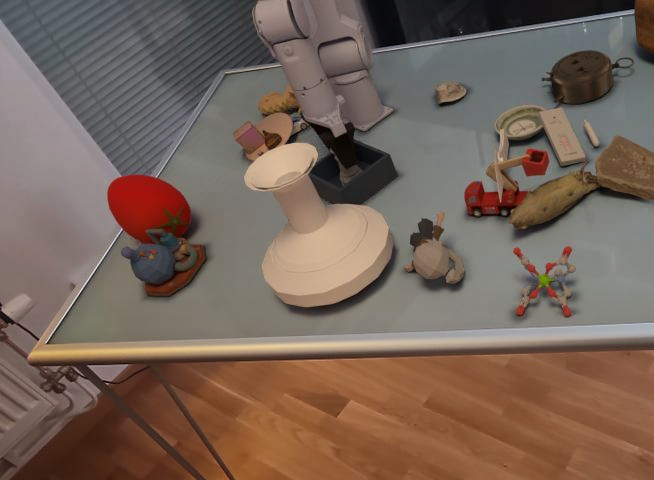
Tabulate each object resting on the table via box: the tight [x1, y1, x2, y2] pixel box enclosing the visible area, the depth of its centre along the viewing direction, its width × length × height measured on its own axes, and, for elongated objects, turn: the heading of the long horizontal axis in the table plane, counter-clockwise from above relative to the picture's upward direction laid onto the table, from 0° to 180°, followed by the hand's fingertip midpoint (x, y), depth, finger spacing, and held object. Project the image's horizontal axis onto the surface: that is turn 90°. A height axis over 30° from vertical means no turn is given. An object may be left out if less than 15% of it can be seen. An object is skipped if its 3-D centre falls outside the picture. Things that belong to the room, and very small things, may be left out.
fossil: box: [434, 81, 467, 105], centre depth 121 cm, size 8×4×6 cm
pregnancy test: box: [539, 106, 600, 167], centre depth 101 cm, size 8×12×1 cm, turn 14°
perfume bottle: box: [232, 112, 293, 162], centre depth 122 cm, size 12×12×4 cm
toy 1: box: [257, 79, 329, 116], centre depth 132 cm, size 5×12×20 cm
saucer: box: [493, 104, 547, 141], centre depth 107 cm, size 10×10×2 cm
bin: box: [308, 138, 399, 205], centre depth 107 cm, size 11×11×4 cm
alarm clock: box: [540, 49, 635, 105], centre depth 111 cm, size 11×5×16 cm
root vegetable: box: [507, 159, 602, 230], centre depth 91 cm, size 5×20×5 cm
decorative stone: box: [594, 135, 654, 202], centre depth 90 cm, size 10×6×15 cm
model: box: [120, 229, 207, 297], centre depth 101 cm, size 12×9×9 cm
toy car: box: [290, 115, 309, 137], centre depth 125 cm, size 4×12×3 cm, turn 125°
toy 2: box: [404, 210, 465, 285], centre depth 89 cm, size 10×8×15 cm
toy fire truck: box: [463, 147, 550, 218], centre depth 91 cm, size 3×14×10 cm, turn 75°
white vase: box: [243, 142, 395, 308], centre depth 88 cm, size 20×20×19 cm
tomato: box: [106, 174, 192, 246], centre depth 107 cm, size 13×11×14 cm
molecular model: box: [512, 245, 577, 317], centre depth 79 cm, size 7×8×8 cm
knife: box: [494, 129, 510, 203], centre depth 93 cm, size 26×4×1 cm
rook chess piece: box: [329, 148, 363, 186], centre depth 106 cm, size 4×4×8 cm
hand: (342, 157), depth 105 cm, fingers open, 7 cm apart
